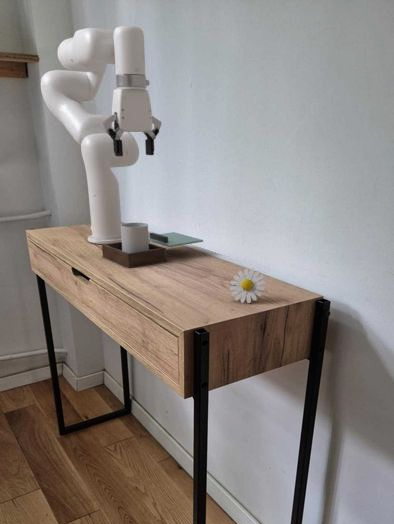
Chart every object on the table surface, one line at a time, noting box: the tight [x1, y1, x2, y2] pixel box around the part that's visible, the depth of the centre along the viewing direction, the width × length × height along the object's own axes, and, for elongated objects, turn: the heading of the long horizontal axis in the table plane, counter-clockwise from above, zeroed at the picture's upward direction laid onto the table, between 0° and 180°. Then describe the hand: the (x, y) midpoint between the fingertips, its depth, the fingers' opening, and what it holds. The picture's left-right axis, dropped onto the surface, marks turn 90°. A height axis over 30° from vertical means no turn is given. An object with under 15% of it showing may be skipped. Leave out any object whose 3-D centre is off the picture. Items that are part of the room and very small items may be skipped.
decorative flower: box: [229, 268, 267, 304], centre depth 105 cm, size 8×6×15 cm
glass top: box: [148, 231, 204, 248], centre depth 139 cm, size 15×12×2 cm
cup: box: [121, 222, 150, 253], centre depth 132 cm, size 7×10×9 cm
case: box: [101, 242, 167, 269], centre depth 133 cm, size 15×12×4 cm
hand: (134, 155), depth 131 cm, fingers open, 9 cm apart
